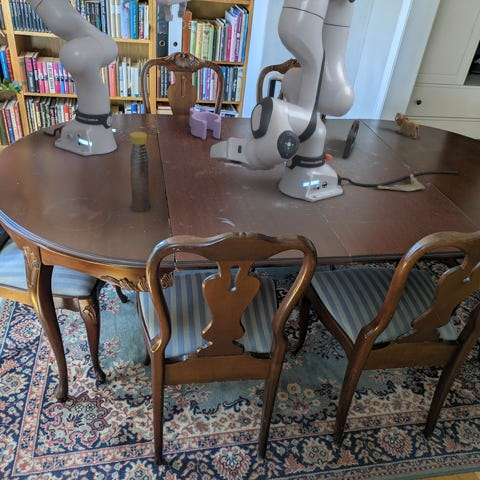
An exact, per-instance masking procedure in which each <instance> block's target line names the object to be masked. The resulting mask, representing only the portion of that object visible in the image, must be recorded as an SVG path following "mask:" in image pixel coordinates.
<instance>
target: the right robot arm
mask: <svg viewBox="0 0 480 480" xmlns="http://www.w3.org/2000/svg"><path fill="white" fill-rule="evenodd" d="M355 1H356V0H284V1H283V4H282V7H281V11H280V15H279V18H278V24H277V32H278V37H279V40H280V42H281V44H282V45H283V47H284V48H285V49H286V50H287V51H288V52H289V53H290V54H291V55H292V56H293V57H294V58H295V59H296V60H297V62H298V64H299V65H300V67H290V69H288V70H287V72H286V71H285V73H284V77H283V79H282V82H280V90H281V94H282V93H283V95H284V96H285V98H286V100H287V102H286V101H283V100H281V98H279V99H277V98H276V97H274V98H272V97H269V96H268V97H267V96H265V97H262V98H261V99H260V100H259V101H258V102H257V103H256V104H255V106H254V107H253V108H252V110H251V114H250V131H251V134H252V137H235V136H230V137H228V138H227V140H223V141H219V142H217V143H215V144H213V145H211V147H210V151H209V158H210V159H211V160H214V161H216V162H220V163H221V162H225V163H230V164H234V165H238V166H241V167H243V168H246V169H247V170H249V171H258V170H260V171H270V170H272V169H273V170H274V169H275V168H276V167H277V166H279V165H282V164H285V167H284V172H283V174H282V177H281V179H280V182H279V184H278V190H279V191H280V192H281V193H283V194H285V195H287V196H289V197H292V198H296V199H302V200H304V201H307V202H309V203H310V202H311V203H313V202H317V201H321V200H324V199H328V198H333V197H336V196H339V195H343V192H344V191H343V190H344V189H343V187H342V186H341V185H342V181H346V182H349V184H351V185H353V186H358V187H365V188H367V187H369V188H371V187H373V188H375V187H376V188H377V186H378V185H380V186H388V185H390V184H394V183H397V182H400V181H403V180H406V179H410V174H408V175H407V174H406V175H404V176H402V177H398V178H396V179H393V180H389V181H385V182H382V183H381V182H380V183H359V182H356V181H353V180H352V179H351V178H348V177H342V176H341V175H340V174H338V173H337V172H336V171H335V170H334V169H333V168H332V167H331V166H330V165H329V164H328V163H327V162H332V160H333V156H332V155H331V154H330V153H326V152H325V151H324V149H325V148H324V147H325V142H326V138H327V128H326V125H325V124H324V122H323V121H322V118H321V116H320V114H321V115H324V116H327V117H335V118H342V117H344V116H345V115H346V114H347V113H349V112H350V110H351V109H352V107H353V105H354V102H355V90H354V88H353V86H352V84H351V83H350V81H349V79H348V75H347V70H346V62H345V61H346V59H345V55H346V48H347V44H348V38H349V34H350V30H351V25H352V21H353V16H354V15H353V14H354V8H355ZM326 161H327V162H326ZM412 174H413V177H417V176H421V175H426V174H427V175H428V174H429V175H430V174H454V175H458V174H459V173H458V171H456V170H455V171H454V170H427V171H426V170H425V171H420V172H415V173H412Z"/></svg>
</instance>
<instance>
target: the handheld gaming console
mask: <svg viewBox="0 0 480 480" xmlns="http://www.w3.org/2000/svg"><path fill="white" fill-rule="evenodd" d="M360 123H361V122H360V120H358V119H354V120H353V122H352V124H351V127H350V129H349V131H348V133H347V135H346V136H347V137H346V141H345V146H344V150H343V154H342V158H343V159H349V158H350V156H351V153H352V151H353V148H354V145H355V144H356V141H357V136H358V133H359V129H360Z"/></svg>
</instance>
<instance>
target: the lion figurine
mask: <svg viewBox="0 0 480 480" xmlns="http://www.w3.org/2000/svg"><path fill="white" fill-rule="evenodd" d="M394 122H395V123H396V125H397V126H399V131H397V133H398V134H401V133H402V132H403V131H404V129H408V130H411V132H412V133H411V134H410V136H412V139H416V138H417V137H418V138H419V139H422V137H421V136H420V127H419V126H420V125H419V123H418V122H416V121H411V120H409V117H407V116H406V114H404V113H403V112H396V114H395V116H394ZM402 130H403V131H402ZM400 131H402V132H400ZM416 131H417V132H416ZM413 134H414V135H413ZM414 136H415V137H414Z"/></svg>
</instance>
